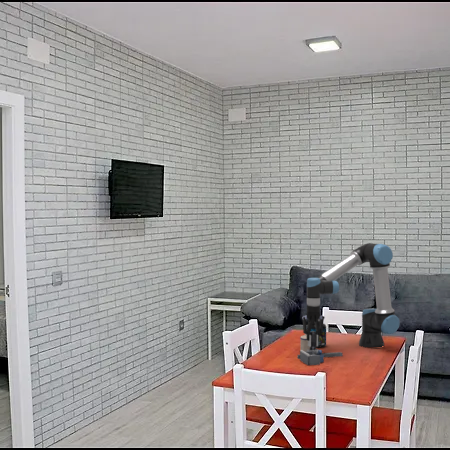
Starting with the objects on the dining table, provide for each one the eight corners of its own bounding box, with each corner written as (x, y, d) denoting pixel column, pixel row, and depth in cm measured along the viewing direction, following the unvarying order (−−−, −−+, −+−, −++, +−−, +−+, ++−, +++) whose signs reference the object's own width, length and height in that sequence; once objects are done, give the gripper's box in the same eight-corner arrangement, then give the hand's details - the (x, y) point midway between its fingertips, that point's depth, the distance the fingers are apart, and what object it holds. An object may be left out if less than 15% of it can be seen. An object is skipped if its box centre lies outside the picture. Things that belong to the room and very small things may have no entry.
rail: (340, 355, 350) (340, 352, 350) (342, 356, 348) (342, 352, 348) (297, 358, 343) (297, 354, 343) (298, 358, 341) (298, 355, 341)
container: (326, 344, 379) (326, 318, 378) (326, 349, 367) (326, 322, 366) (307, 343, 381) (307, 317, 380) (306, 348, 369) (306, 322, 368)
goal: (311, 359, 339) (311, 349, 339) (320, 364, 328) (320, 354, 328) (300, 360, 337) (300, 350, 337) (307, 365, 326) (308, 354, 326)
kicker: (316, 356, 347) (316, 331, 346) (326, 362, 333) (327, 336, 332) (306, 356, 345) (306, 331, 345) (316, 362, 331) (317, 336, 331)
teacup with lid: (314, 354, 351) (314, 334, 351) (298, 353, 354) (299, 333, 354) (317, 350, 363) (317, 330, 363) (302, 349, 365) (302, 330, 365)
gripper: (324, 303, 349) (323, 343, 350) (297, 304, 345) (296, 345, 345) (329, 305, 342) (329, 346, 342) (302, 306, 338) (301, 348, 338)
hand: (312, 346), depth 344 cm, fingers closed on kicker, 4 cm apart
